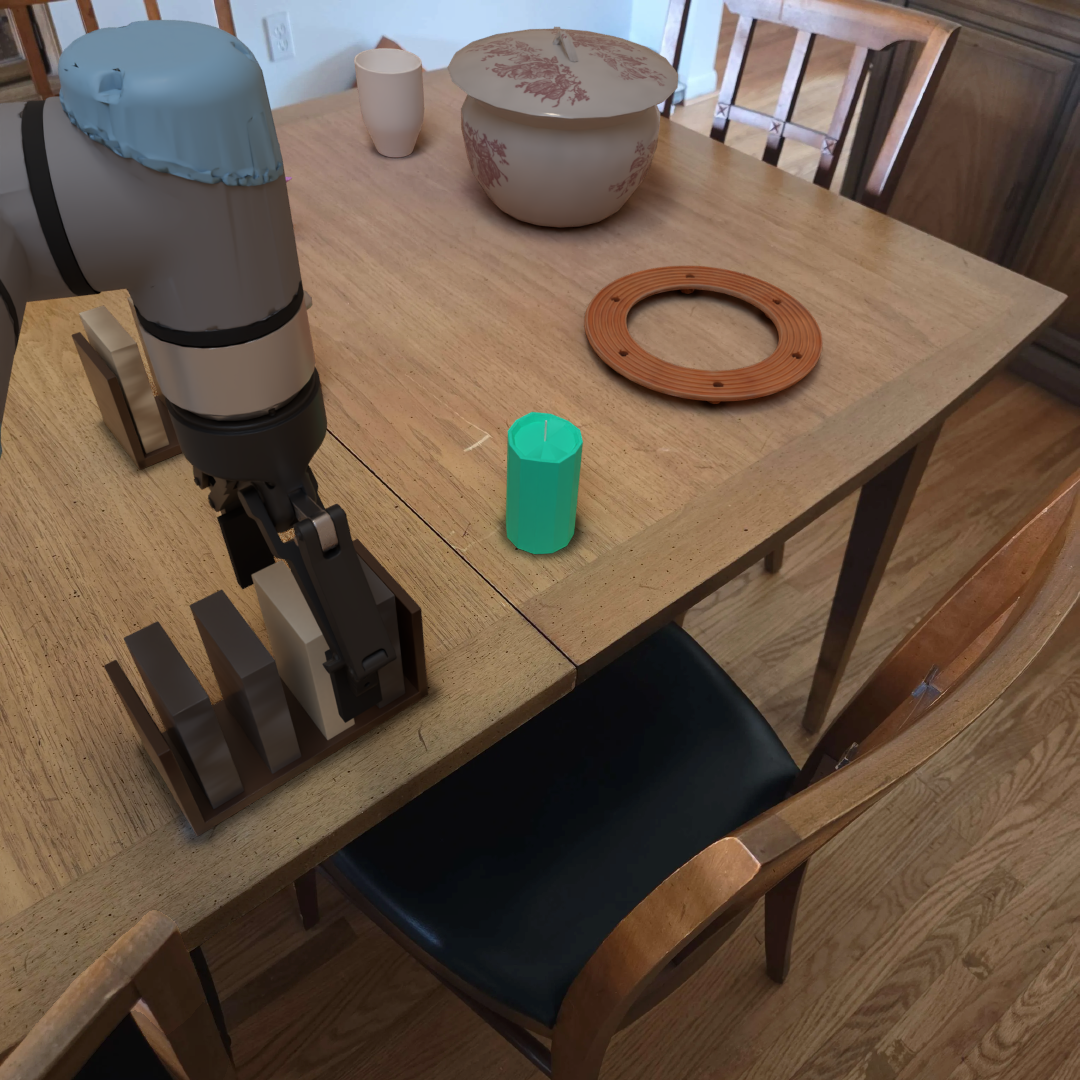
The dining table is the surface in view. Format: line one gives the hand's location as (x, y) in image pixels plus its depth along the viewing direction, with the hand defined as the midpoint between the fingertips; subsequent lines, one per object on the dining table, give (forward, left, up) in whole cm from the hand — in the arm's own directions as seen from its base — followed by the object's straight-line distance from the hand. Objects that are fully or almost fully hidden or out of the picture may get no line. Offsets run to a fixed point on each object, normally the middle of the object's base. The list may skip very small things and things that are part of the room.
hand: (306, 639), depth 61 cm
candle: (+20, +14, -8) cm, 26 cm away
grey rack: (-2, -1, -8) cm, 8 cm away
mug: (+19, +92, -8) cm, 94 cm away
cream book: (0, 0, -7) cm, 7 cm away
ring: (+44, +38, -8) cm, 59 cm away
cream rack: (-7, +36, -8) cm, 38 cm away
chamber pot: (+37, +72, -8) cm, 81 cm away
